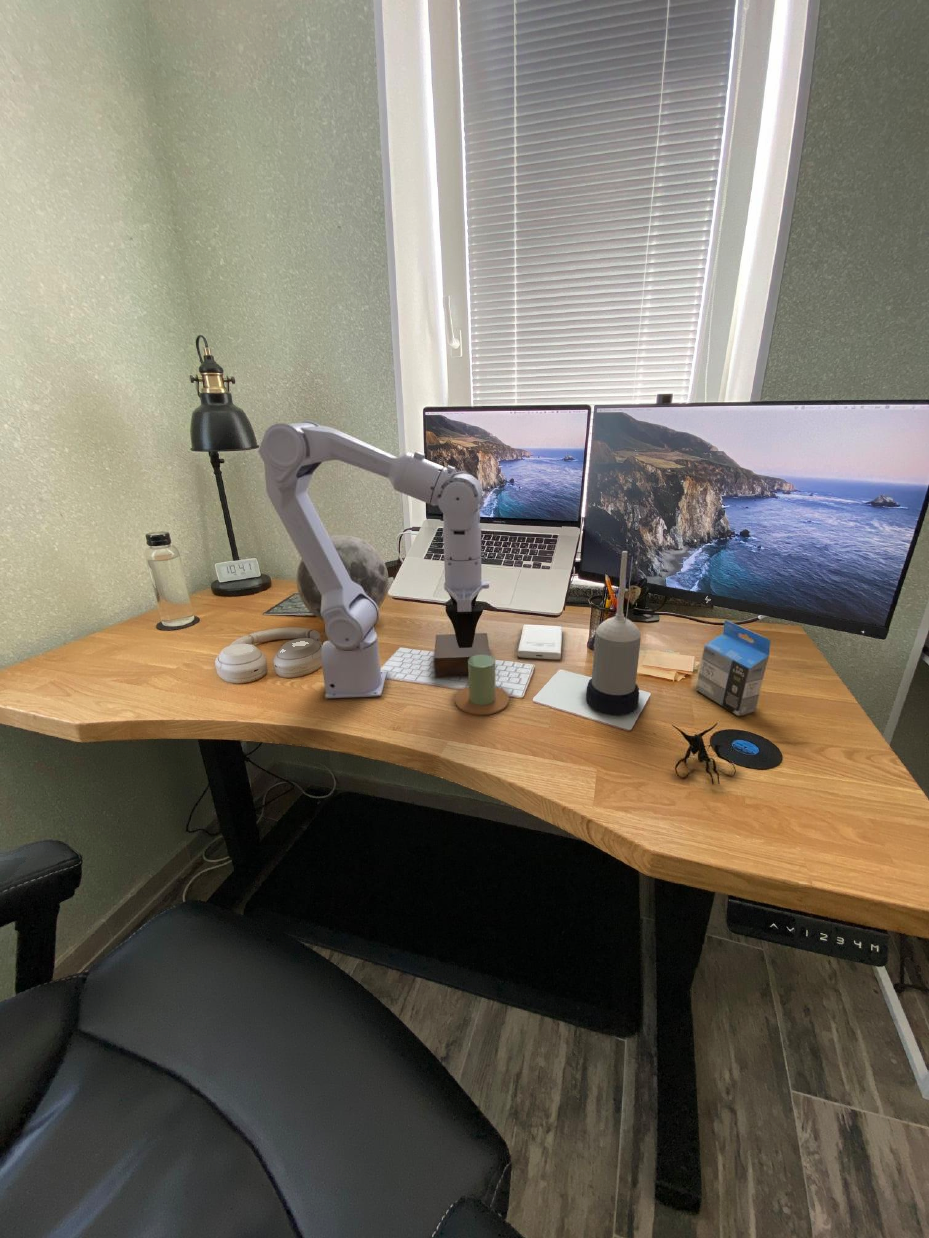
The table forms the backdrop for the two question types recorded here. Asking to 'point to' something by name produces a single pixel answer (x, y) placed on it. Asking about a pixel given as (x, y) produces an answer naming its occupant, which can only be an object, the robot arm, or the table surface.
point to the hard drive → (540, 642)
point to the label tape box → (734, 669)
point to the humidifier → (615, 660)
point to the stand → (457, 654)
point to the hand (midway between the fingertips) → (465, 636)
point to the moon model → (360, 567)
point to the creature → (700, 752)
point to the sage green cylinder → (481, 679)
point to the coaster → (471, 708)
